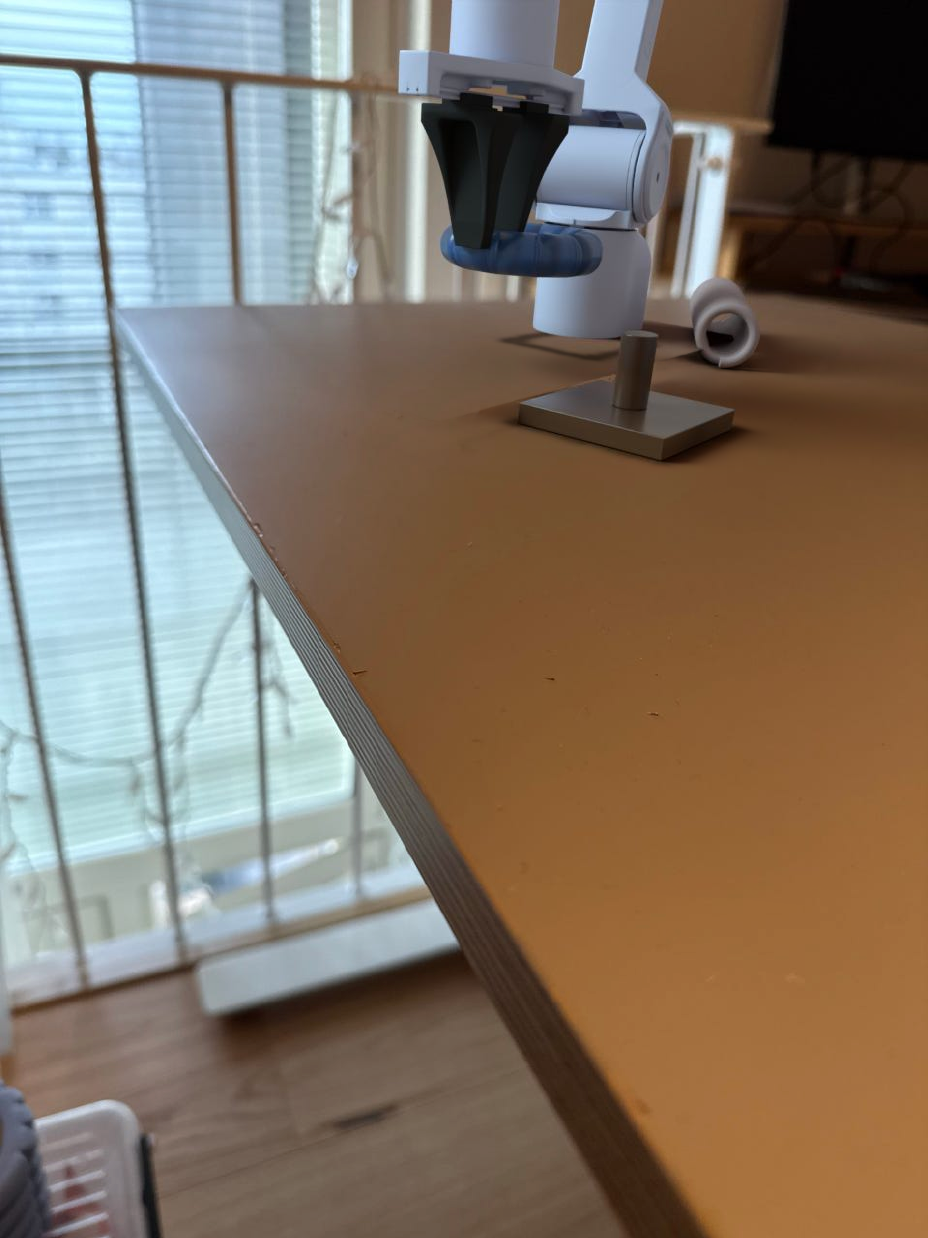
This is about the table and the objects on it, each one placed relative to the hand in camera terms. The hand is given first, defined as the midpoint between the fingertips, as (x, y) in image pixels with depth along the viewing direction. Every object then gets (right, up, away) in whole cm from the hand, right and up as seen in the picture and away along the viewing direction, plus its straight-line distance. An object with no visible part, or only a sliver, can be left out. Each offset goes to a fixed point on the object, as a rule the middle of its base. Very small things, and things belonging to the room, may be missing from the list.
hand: (487, 246), depth 55 cm
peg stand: (+8, -11, -2) cm, 14 cm away
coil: (+20, +1, +23) cm, 30 cm away
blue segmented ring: (+2, +1, +3) cm, 4 cm away
